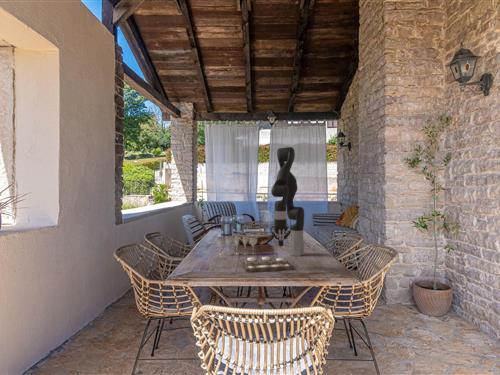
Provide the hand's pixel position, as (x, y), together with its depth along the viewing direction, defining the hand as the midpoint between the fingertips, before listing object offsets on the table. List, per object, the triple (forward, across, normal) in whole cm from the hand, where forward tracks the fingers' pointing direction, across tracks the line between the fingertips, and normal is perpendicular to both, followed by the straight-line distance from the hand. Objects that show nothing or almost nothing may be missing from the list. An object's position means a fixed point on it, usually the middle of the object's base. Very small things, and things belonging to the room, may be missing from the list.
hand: (280, 246), depth 230 cm
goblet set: (+12, +21, -37) cm, 44 cm away
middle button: (+8, +9, 0) cm, 13 cm away
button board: (+12, +10, +2) cm, 15 cm away
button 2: (+10, 0, 0) cm, 10 cm away
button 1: (+8, +18, 0) cm, 20 cm away
